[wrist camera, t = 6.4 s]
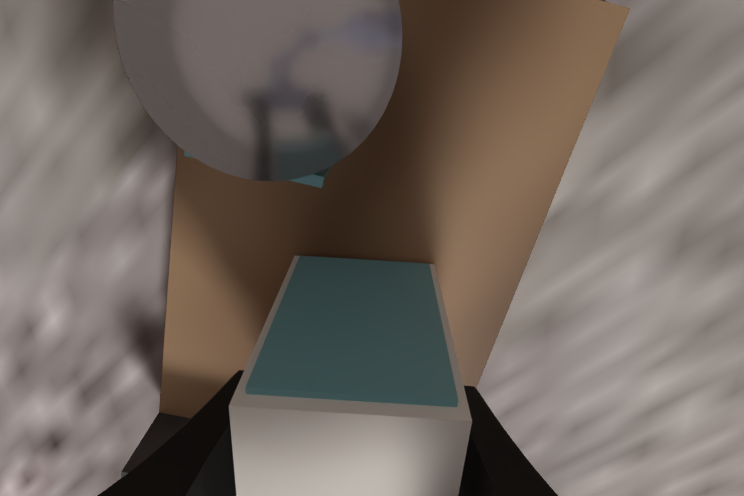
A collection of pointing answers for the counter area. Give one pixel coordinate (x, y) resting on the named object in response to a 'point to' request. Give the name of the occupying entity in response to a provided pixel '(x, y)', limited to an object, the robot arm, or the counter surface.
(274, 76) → the tin
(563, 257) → the counter surface
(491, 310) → the tan wooden panel
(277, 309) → the carton
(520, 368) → the counter surface
